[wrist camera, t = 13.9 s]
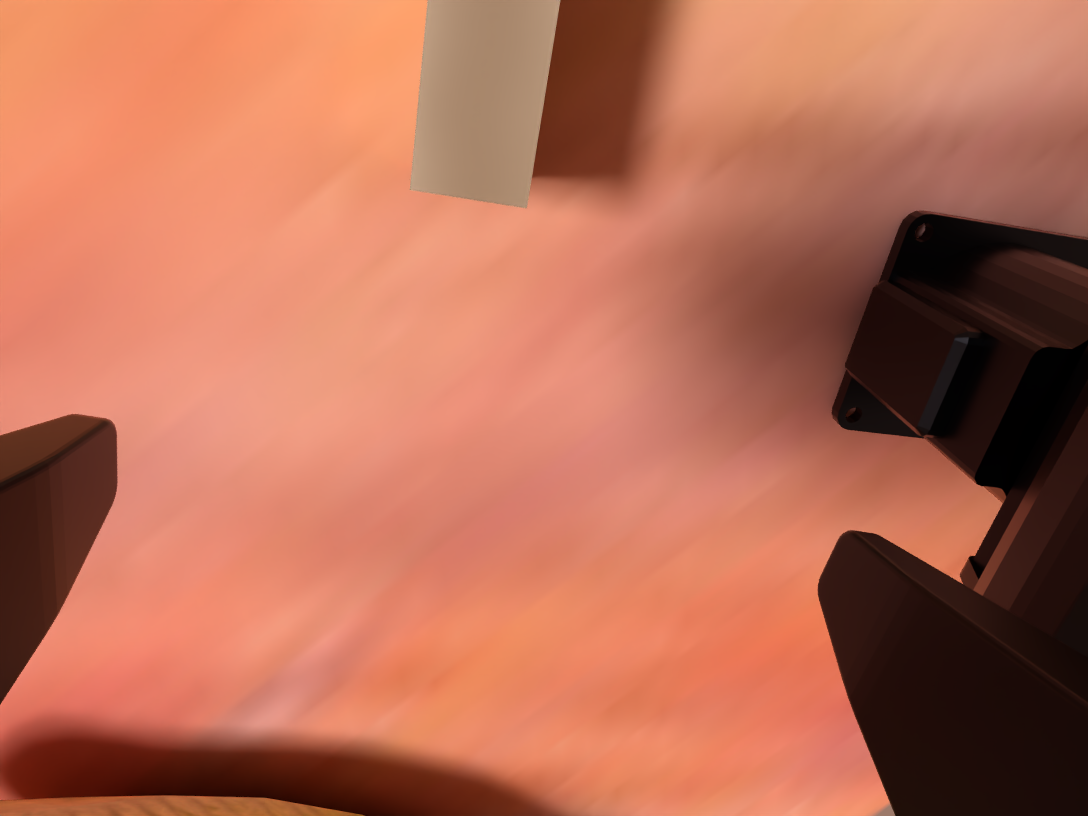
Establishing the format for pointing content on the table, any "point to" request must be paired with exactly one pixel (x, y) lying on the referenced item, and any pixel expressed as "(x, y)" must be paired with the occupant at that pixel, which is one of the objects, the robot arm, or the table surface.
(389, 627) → the table surface
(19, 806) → the lettuce
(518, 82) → the pusher
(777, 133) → the table surface
